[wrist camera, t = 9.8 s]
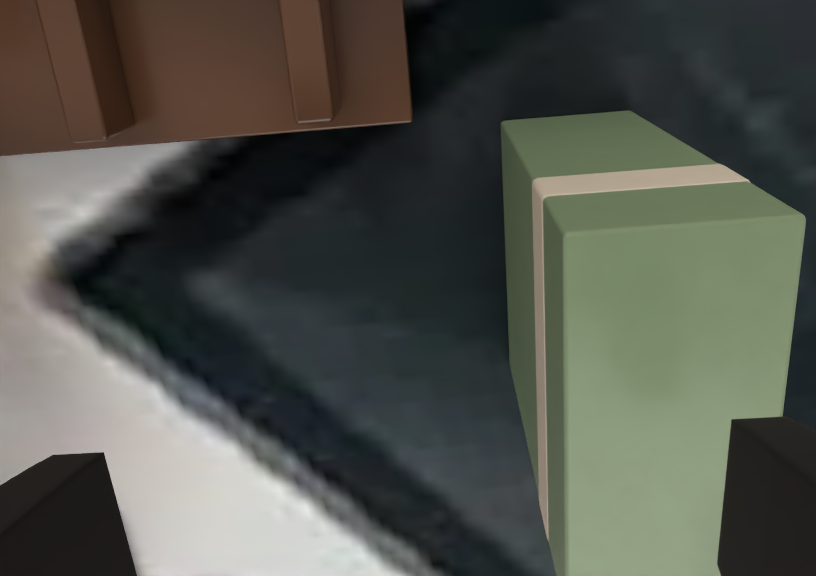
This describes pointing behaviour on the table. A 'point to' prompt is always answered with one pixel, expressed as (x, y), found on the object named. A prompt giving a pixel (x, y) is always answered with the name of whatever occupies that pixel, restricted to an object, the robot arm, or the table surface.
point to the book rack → (196, 70)
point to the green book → (639, 333)
